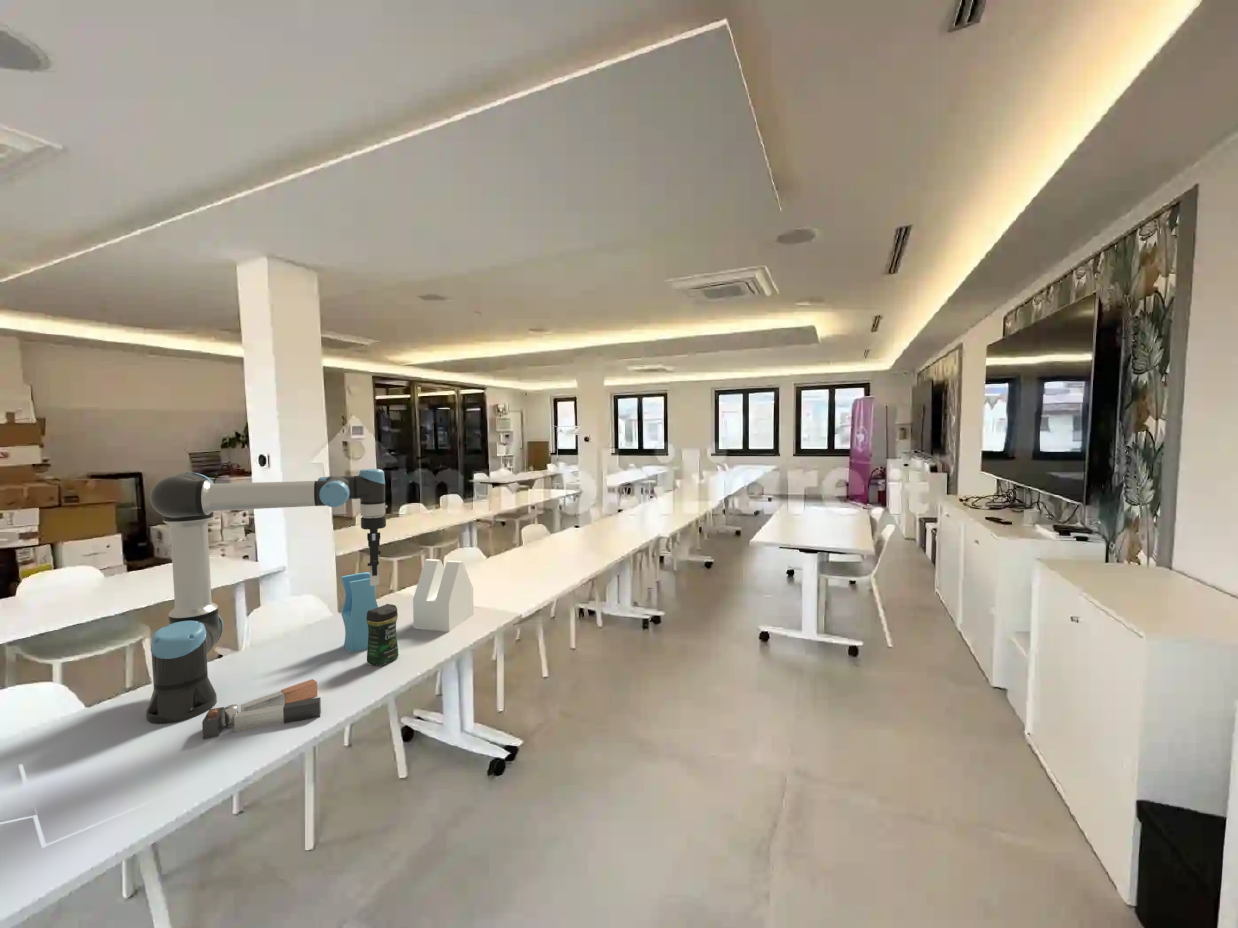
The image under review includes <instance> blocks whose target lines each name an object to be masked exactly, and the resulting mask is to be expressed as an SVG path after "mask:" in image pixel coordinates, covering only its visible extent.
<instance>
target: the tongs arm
mask: <svg viewBox="0 0 1238 928" xmlns="http://www.w3.org/2000/svg"><path fill="white" fill-rule="evenodd" d="M317 696H318V682H317V681H316V680H315V679H314V678H311V679H309V680H305V681H303V682H300V683H297V684H294V685H291V686H288V687H286V688H282V689H280V691H276V692H274V693H271V694H267V695H265V696H263V697H259V698H257V699H254V700H253V699H252V700H251V701H247V702H245V703H244V702H243V703H242V704H240V712H245V711H250V710H256V709H262V708H268V707H273V706H279V705H285V703H290V702H296V701H302V700H307V699H313V698H317ZM224 708H225V725H224V727H225V728H227V729H228V728H229V729H231V728H235V726H234V717H235V715H236V713H239V707H238V704H230V705H227V706H224Z"/></svg>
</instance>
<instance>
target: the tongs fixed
mask: <svg viewBox="0 0 1238 928" xmlns="http://www.w3.org/2000/svg"><path fill="white" fill-rule="evenodd" d="M321 702H322V700H321V697H320V696H319V697H313V698H310V699H307V700H302V701H296V702H290V703H285V705H279V706H273V707H268V708H262V709H256V710H250V711H245V712H241V711H240V712H239V711H238V713H236V715H235V717H234V733H238V732H246V731H250V730H255V729H256V730H257V729H260V728H266V727H271V726H278V725H282V724H283V725H284V724H285V725H286V724H290V723H296V722H301V721H306V720H312V719H317V718H321V713H322V707H321V706H322V703H321ZM201 723H202V725H201V726H202V740H208V739H212V738H217V737H218V738H219V737H220V736H221V732H222V731H223V729H224V727H225V706H222V707H216V708H215V707H214V708H211V709H210V710H208V711H207V712H206V715H205V716H204V718H203V720H202V722H201Z"/></svg>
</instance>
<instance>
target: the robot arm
mask: <svg viewBox="0 0 1238 928" xmlns="http://www.w3.org/2000/svg"><path fill="white" fill-rule="evenodd" d="M348 500H359V506H360V507H359V508H360V510H359V511H360V516H361V518H360V528H361V529H362V530H366V531H367V530H369V532H367V535H366V536H367V537H366V538H367V542H368V543H367V548H369V563H368V562H367V567H369V572H370V586H373V585H376V586H380V584H381V583H380V555H381V553H382V551H381V550H380V549H379V547H380V545H381V543H380V541H381V532H378V531H379V530H381V529H384V528H386V526H387V517H386V516H385V515H386V509H387V508H388V505H387V504H386V480H385V472H384V471H383V470H382V469H380V468H367V469H366V468H365V469H360V470H359V473H358V475H350V476H349V475H348V476H347V475H345V476H344V475H342V476H341V475H340V476H332V475H330V476H320V477H319V478H318V480H307V481H306V480H305V481H303V480H300V481H299V480H297V481H294V480H293V481H263V482H262V481H260V482H233V483H232V482H231V483H229V482H227V483H214V482H213V480H212V479H211V478H209V477H208V476H206V475H204V474H201V473H198V472H181V473H178V474H174V475H172V476H167V477H165V478H163V479H161V480H159V481H158V482H156V484H155V485H153V487H152V488H151V490H150V494H149V503H150V505H151V507H152V508H153V510H155V512H157V513H158V514H160V515H162V522H163V523H165V524H166V525H167V526H169V529H170V542H171V543H170V545H171V563H172V565H171V566H172V576H173V577H172V580H173V597H174V599H173V600H174V608H173V609H171V610H170V612H169V613H168V624H167V626H163V627H161V628H159V629H158V630H156V631H155V632H154V633H153V635H152V637H151V642H150V653H151V667H152V679H153V681H152V682H153V690H152V691H153V692H152V694H151V697H150V700H149V703H148V706H147V708H146V711H145V712H146V713H145V714H146V721H147V723H151V724H153V725H166V724H167V725H168V724H176V723H179V722H183V721H188V720H190V719H193V718H196V717H198V716H201V715H203V714H204V713H208V711H209V710H210V709H213V707H214V708H215V706H216V704H217V701H218V699H217V698H218V697H217V696H218V695H217V693H216V690H215V689H214V686H213V684H212V682H211V680H210V678H209V676H208V675H209V674H208V673H209V672H208V654H209V652H210V651H211V650H212V649H213V647H214V646H215V645H216V644H217V643H218V641H219V640H220V638H221V636H222V634H223V631H224V621H223V619H222V617H221V616H220V614H219V605H218V604H217V603H215V602H213V601H212V586H211V583H212V582H211V567H210V566H211V565H210V545H209V544H210V542H209V529H208V527H209V526H208V524H209V522H211V521H212V519H214V512H218V511H220V512H222V511H241V510H242V511H243V510H259V509H279V508H280V509H283V508H302V507H304V508H305V507H325V506H326V507H330V508H338V507H341V506H342V505H344V504H345V503H346V502H348Z"/></svg>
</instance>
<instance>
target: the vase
mask: <svg viewBox="0 0 1238 928" xmlns="http://www.w3.org/2000/svg"><path fill="white" fill-rule="evenodd" d="M340 580H341V582H342V585H343V588H344V602H343V605H342V609H341V613H340V614H341V617H342V618H341V619H342V621H343V624H344V632H345V633H344V634H345V635H344V642H343V643H344V644H343V647H345V649H347V650H348V651H349V652H350V653H356V652H361V651H365V650H367V649H368V624H367V621H366V620H367V612H368V611H369V610H372V609H375V608H378V607H379V605H378V602H377V599H376V598H377V597H376V587H377V585H373V586H370V571H369V572H368V571H365V572H360V573H359V572H358V573H353V574H348V575H343V576H340Z"/></svg>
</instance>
